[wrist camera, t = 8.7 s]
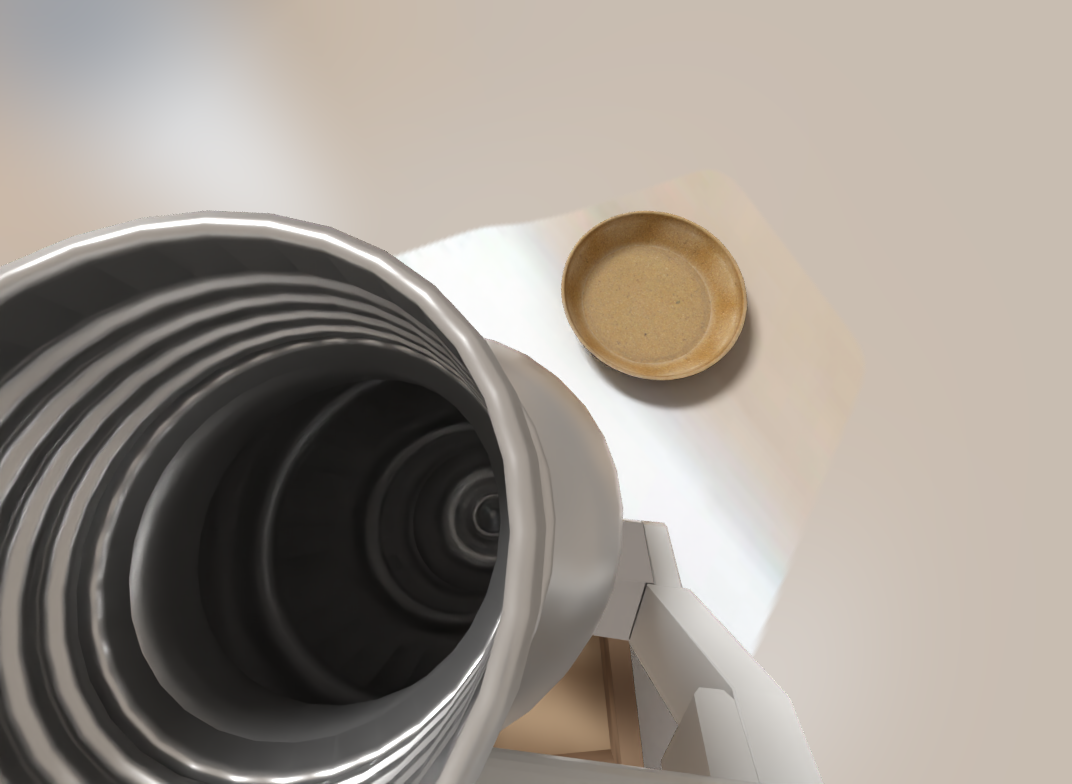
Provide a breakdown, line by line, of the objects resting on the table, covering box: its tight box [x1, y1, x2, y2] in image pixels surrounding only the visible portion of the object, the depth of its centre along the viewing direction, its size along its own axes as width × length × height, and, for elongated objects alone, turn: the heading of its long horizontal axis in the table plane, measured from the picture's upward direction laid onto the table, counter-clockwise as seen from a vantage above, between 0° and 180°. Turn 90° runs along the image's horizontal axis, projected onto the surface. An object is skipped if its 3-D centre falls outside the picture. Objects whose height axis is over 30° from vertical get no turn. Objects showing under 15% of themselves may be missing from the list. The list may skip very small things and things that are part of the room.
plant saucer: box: [561, 211, 747, 380], centre depth 35 cm, size 15×15×3 cm
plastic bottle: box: [0, 211, 623, 784], centre depth 11 cm, size 6×7×20 cm
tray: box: [493, 635, 644, 767], centre depth 27 cm, size 12×12×5 cm
